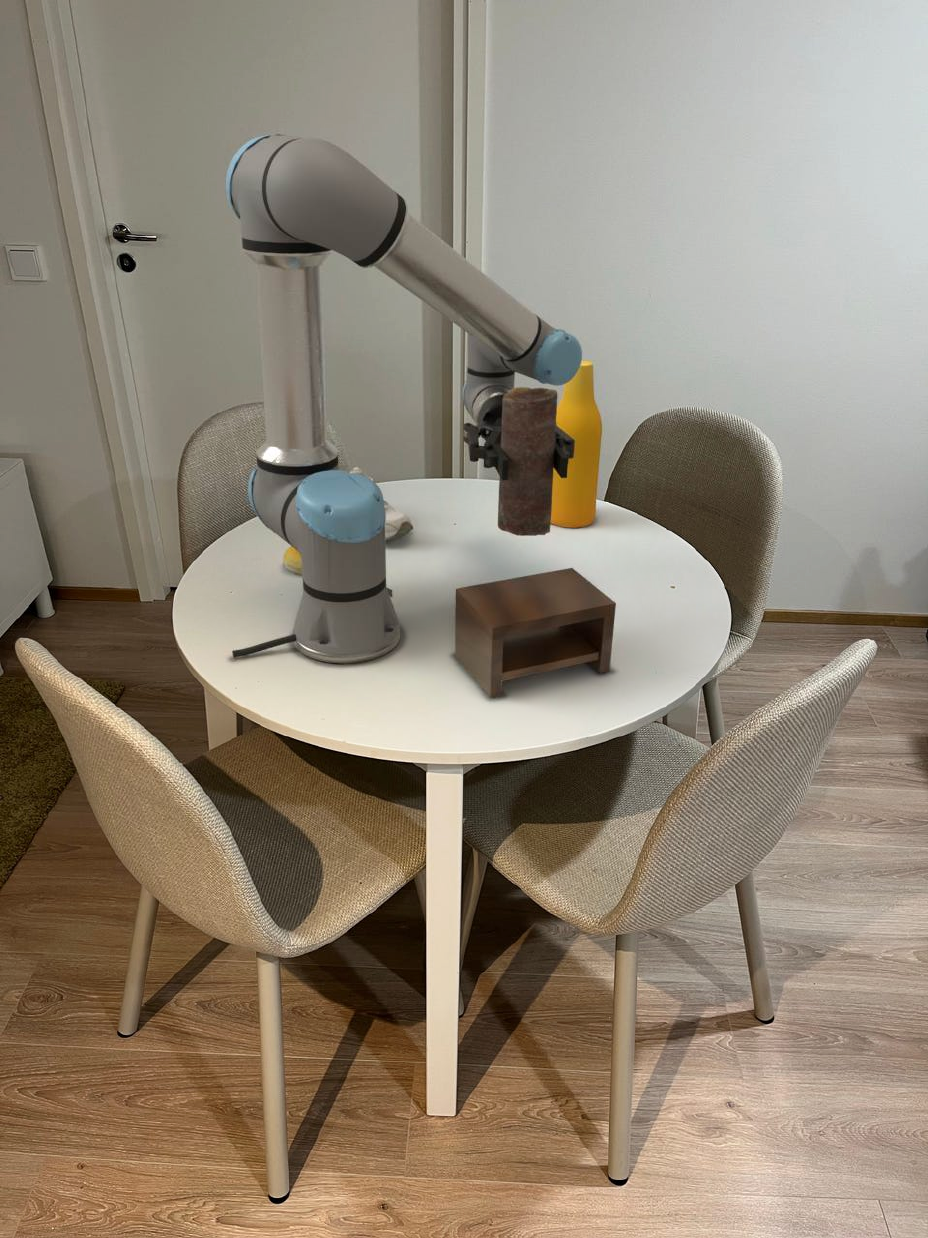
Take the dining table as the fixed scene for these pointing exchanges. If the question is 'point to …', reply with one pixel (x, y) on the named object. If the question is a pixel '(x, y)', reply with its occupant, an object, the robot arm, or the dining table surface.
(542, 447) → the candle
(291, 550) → the bread roll
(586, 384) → the beer bottle
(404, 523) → the athletic shoe
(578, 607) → the shelf
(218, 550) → the dining table surface
